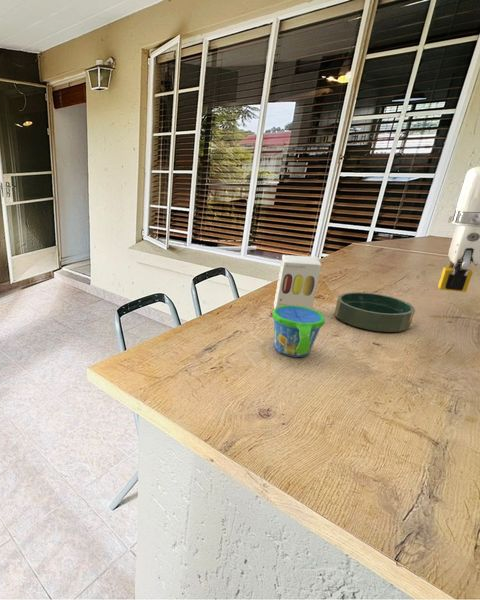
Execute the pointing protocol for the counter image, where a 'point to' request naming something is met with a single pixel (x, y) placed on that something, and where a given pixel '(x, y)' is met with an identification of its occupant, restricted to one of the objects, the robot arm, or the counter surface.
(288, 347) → the snack cup
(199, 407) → the counter surface
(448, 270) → the sponge
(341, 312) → the basin
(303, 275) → the supplement box
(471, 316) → the counter surface
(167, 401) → the counter surface
